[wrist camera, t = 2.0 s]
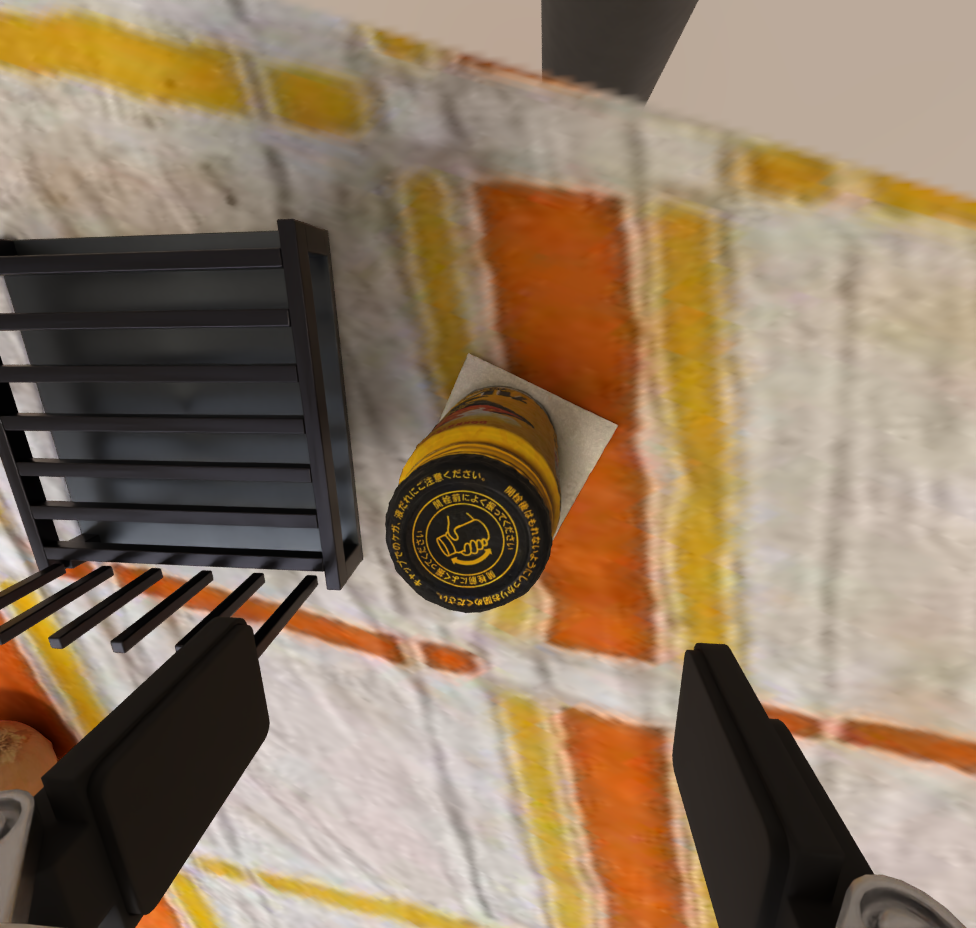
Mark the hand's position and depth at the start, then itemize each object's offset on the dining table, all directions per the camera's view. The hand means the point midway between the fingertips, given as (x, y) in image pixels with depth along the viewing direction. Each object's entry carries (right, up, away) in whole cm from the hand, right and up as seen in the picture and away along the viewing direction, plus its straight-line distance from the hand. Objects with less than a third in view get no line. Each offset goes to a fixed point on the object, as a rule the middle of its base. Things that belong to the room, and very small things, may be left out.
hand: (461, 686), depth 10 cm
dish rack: (-16, +8, +17) cm, 25 cm away
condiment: (+2, +6, +16) cm, 17 cm away
